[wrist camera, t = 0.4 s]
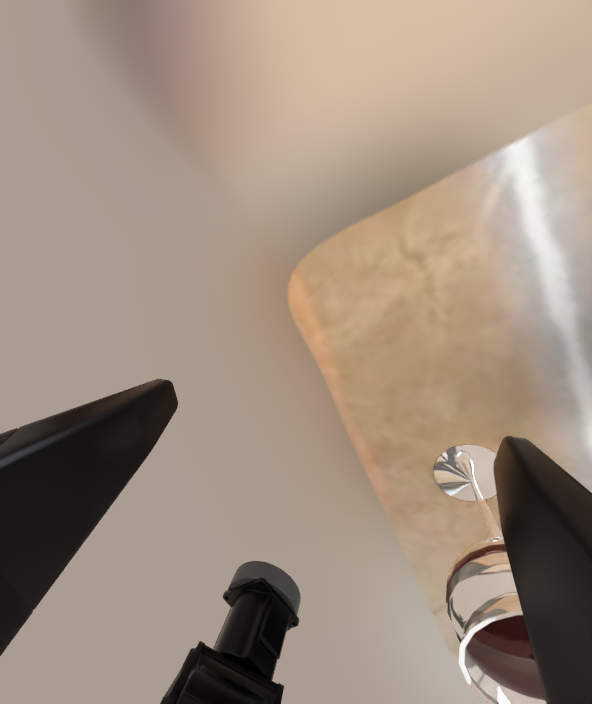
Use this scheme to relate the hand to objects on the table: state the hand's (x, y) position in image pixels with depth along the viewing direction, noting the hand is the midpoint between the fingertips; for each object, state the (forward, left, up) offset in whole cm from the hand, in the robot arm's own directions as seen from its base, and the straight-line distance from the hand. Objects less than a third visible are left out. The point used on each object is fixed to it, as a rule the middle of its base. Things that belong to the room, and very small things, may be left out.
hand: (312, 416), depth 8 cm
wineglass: (0, -15, -15) cm, 21 cm away
